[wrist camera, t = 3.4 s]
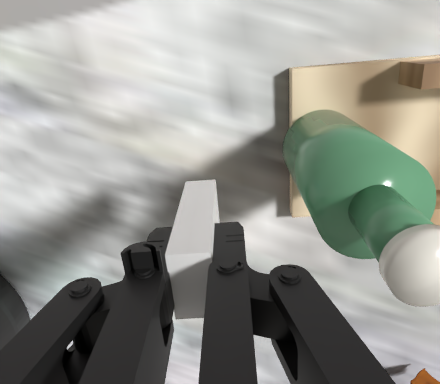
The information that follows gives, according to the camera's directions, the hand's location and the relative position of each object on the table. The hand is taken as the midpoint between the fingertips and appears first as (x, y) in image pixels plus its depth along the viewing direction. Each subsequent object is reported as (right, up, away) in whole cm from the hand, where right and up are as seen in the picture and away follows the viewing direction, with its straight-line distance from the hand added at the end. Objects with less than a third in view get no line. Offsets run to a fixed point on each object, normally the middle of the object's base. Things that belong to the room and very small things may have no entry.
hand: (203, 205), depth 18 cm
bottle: (+8, +4, +7) cm, 11 cm away
